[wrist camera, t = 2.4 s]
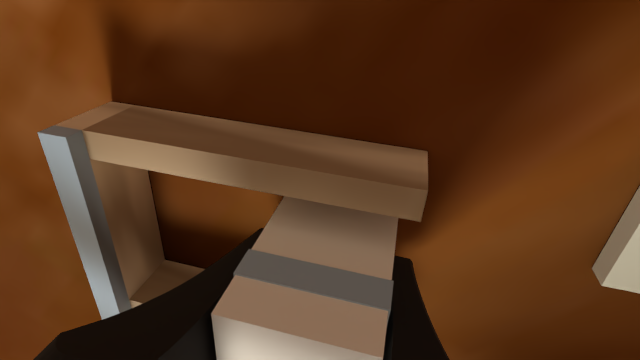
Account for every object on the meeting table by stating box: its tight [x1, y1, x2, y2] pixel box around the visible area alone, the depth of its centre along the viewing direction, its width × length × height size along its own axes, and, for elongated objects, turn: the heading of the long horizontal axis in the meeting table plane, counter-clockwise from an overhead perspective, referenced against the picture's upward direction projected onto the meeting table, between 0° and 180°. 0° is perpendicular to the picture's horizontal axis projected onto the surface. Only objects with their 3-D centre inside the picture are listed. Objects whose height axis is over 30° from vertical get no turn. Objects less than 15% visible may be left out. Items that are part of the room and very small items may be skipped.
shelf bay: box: [37, 102, 428, 320], centre depth 14 cm, size 8×12×3 cm
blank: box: [211, 196, 398, 360], centre depth 12 cm, size 4×4×6 cm
